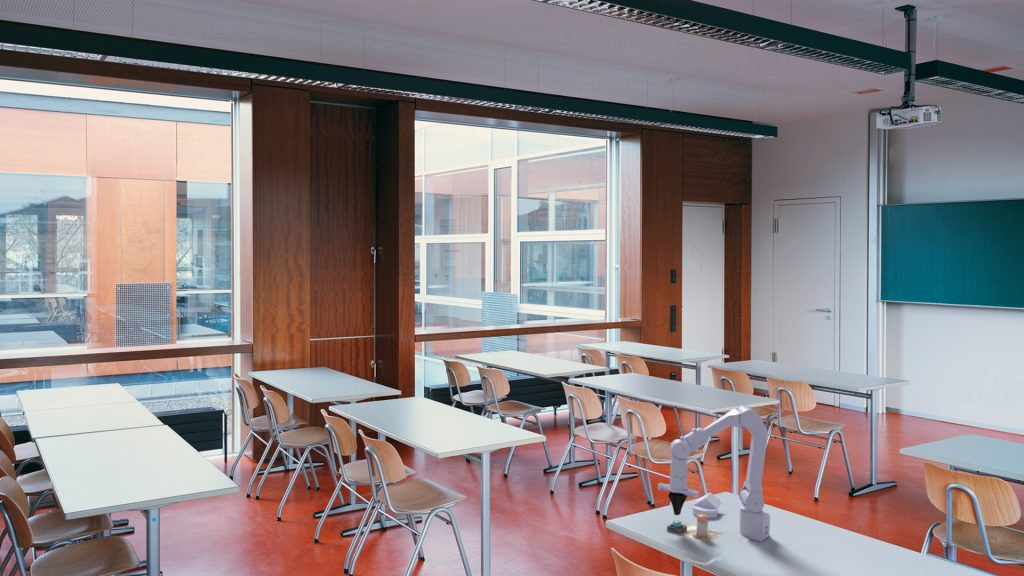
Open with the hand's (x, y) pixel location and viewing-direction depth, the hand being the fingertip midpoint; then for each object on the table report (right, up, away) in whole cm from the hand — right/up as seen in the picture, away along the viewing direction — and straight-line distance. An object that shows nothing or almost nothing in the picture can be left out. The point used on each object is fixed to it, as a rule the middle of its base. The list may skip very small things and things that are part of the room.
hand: (677, 514), depth 273 cm
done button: (0, -6, 0) cm, 6 cm away
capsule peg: (+7, -6, -5) cm, 11 cm away
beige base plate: (+6, -7, 0) cm, 9 cm away
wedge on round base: (+15, -6, +20) cm, 26 cm away
